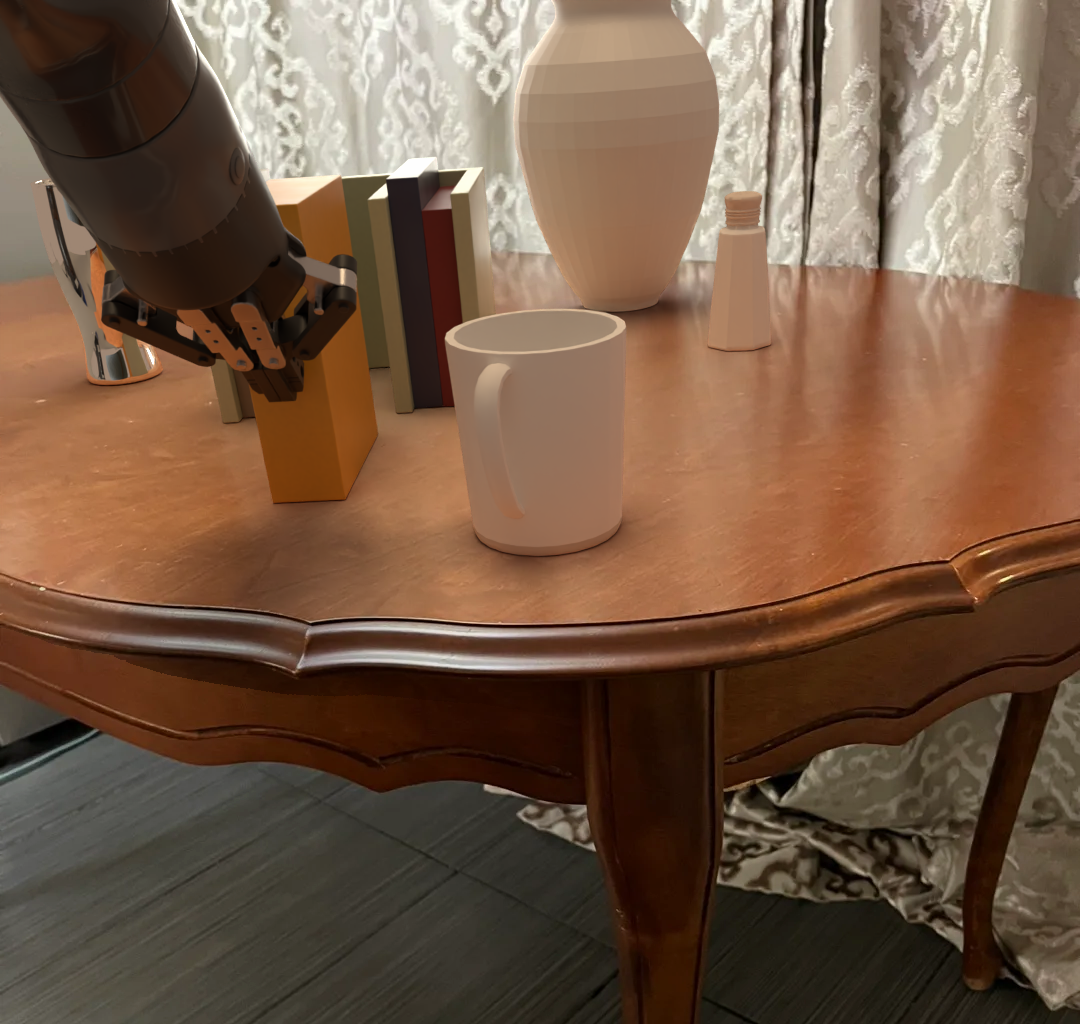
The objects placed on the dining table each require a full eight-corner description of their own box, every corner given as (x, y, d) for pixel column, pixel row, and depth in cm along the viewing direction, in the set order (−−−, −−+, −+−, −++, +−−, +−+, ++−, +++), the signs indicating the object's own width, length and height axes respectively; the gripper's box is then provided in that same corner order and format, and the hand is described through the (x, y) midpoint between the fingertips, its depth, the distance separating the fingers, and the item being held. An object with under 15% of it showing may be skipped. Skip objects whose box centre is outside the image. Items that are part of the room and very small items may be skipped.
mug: (506, 489, 65) (490, 306, 60) (652, 502, 62) (650, 310, 57) (418, 566, 57) (391, 362, 51) (582, 586, 54) (571, 370, 48)
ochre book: (272, 503, 66) (213, 208, 57) (314, 437, 76) (269, 179, 67) (345, 499, 66) (297, 203, 57) (378, 434, 76) (341, 174, 67)
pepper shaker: (720, 332, 93) (723, 187, 87) (782, 336, 90) (790, 187, 85) (694, 349, 89) (695, 198, 83) (759, 353, 87) (765, 199, 81)
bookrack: (222, 423, 80) (172, 195, 72) (268, 370, 92) (229, 169, 84) (487, 408, 79) (467, 175, 71) (499, 356, 91) (482, 151, 83)
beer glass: (110, 364, 97) (59, 174, 89) (183, 363, 96) (138, 170, 88) (66, 387, 91) (8, 186, 83) (142, 387, 90) (91, 182, 82)
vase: (493, 321, 101) (465, -5, 88) (572, 280, 115) (558, -9, 101) (678, 330, 94) (678, -24, 81) (740, 285, 108) (749, -25, 94)
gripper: (320, 73, 45) (402, 319, 62) (5, 98, 46) (171, 333, 63) (315, 236, 43) (401, 442, 60) (-12, 258, 44) (163, 455, 61)
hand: (283, 386), depth 62 cm, fingers closed
